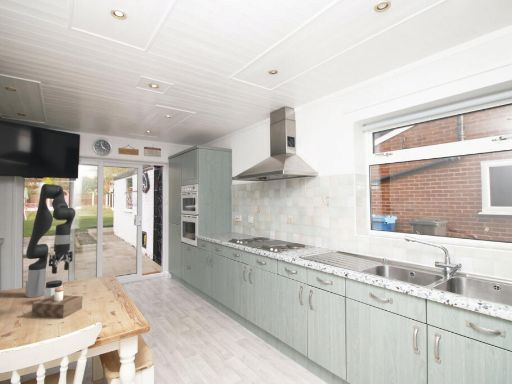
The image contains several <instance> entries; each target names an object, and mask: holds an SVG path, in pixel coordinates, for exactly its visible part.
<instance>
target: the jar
mask: <svg viewBox="0 0 512 384" xmlns="http://www.w3.org/2000/svg"><path fill="white" fill-rule="evenodd" d="M58 287H63V281H62V280H60V279H59V280H57V279H56V280H50V281H47V282H45V292H44V296H43V299H44V298H47V297H49V296H52V295H55V288H58Z"/></svg>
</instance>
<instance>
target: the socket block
mask: <svg viewBox="0 0 512 384" xmlns="http://www.w3.org/2000/svg"><path fill="white" fill-rule="evenodd" d="M83 298H84V297H83V296H81V295H65V294H63V300H61V301H54V295H52V296H49V297H47V298H44V297H43V298H42V299H39V300H37V301H34V302H32V305H31V317H32V318H33V317H34V318H35V317H36V318H38V317H39V318H48V319H49V318H50V319H52V318H53V319H64V318H66V317H69V316H71V315H72V314H74V313H77V312H78V311H80V310H82V308H83Z"/></svg>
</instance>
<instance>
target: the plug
mask: <svg viewBox="0 0 512 384" xmlns="http://www.w3.org/2000/svg"><path fill="white" fill-rule="evenodd" d="M63 295H64V287H63V286H62V287H58V288H55V295H54V301H61V300H63Z"/></svg>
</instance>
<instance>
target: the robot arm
mask: <svg viewBox="0 0 512 384" xmlns="http://www.w3.org/2000/svg"><path fill="white" fill-rule="evenodd" d="M49 199H50V200H52V201H51V207H52V209H53V211H52V212H51V210H50V209H49V207H48V205H47V200H49ZM75 216H76V210H75V209H74V208H73V207H69V205H68V203H67V202H66V198H65V193H64V189H63V187H62V186H61V185H58V184H49V183H43V185H42V186H41V188H40V191H39V200H38V206H37V211H36V215H35V218H34V221H33V222H34V223H33V227H32V232H31V234H30V235H31V236H30V239H29V242H28V245H27V248H26V252H25V255H26V258H27V259H28V260H35V259H38V260H36V261H35V262H33V263H31V264H29V265H28V267H27V268H28V270H27V271H28V273H27V280H26V282H25V290H24V291H25V292H24V297H26V298H36V297H41V296H43V295H44V294H45V288H46V279H47V277H46V275H47V264H48V267H51V274H54V275H56V274H57V273H58V265H59V264H60V263H61V262H63V263H64V266H63V267H64V268H63V270H64V271H69V269H70V263H71V262H73V255H74V253H73V251H71V240H72V239H71V227H72V224H73V222H74V220H75ZM54 220H57V221H65V222H64V223H61V224H57V225H55V235H54V243H53V252H54V254H49V245H48V244H47V243H39V241H40V240H41V239H42V238H43V236H44V235H46V234H47V233H48V232H49V231H50V230H51V229H52V228H51V227H52V224H53V221H54ZM48 258H49V259H48Z"/></svg>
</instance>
